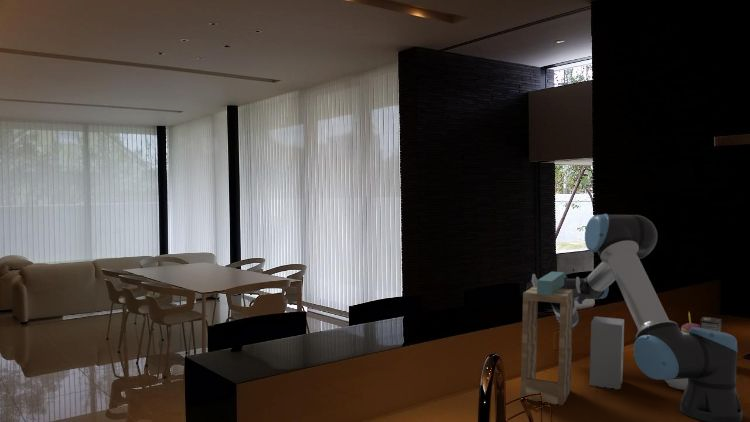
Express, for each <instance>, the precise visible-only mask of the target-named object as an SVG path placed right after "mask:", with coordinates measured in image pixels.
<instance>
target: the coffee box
mask: <svg viewBox="0 0 750 422" xmlns="http://www.w3.org/2000/svg"><path fill="white" fill-rule="evenodd" d="M722 320H723V319H722V318H717V317H711V316H702V317H701V319H700V320H699V321H700V322H699V325H700V328H704V329H710V330H715V331H720V332H723V331H722V330H723V328H722V325H723V324H722V323H723V321H722Z"/></svg>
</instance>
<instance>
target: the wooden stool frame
mask: <svg viewBox="0 0 750 422" xmlns="http://www.w3.org/2000/svg"><path fill="white" fill-rule="evenodd" d="M539 302H541V303H542V302H543V303H551V302H553V303H560V324H559V336H558V337H559V339H558V341H559V343H558V344H559V345H558V371H557V372H558V373H557V374H558V375H557V376H558V377H557V381H553V380H552V381H551V380H545V379H538V378H536V377H537V353H538V352H537V347H538V343H537V342H538V307H539V306H538V305H539V304H538V303H539ZM572 318H573V290H572V289H558V290H557V291H556V292H555V293H554V294H552V295H541V294H537V287H534V286H533V287H532V288H530V289H529V290H527V289H526V291H523V293H522V320H521V323H522V324H521V325H522V326H521V327H522V329H521V366H520V398H521V397H524V396H527V395H531V394H538V393H541V396H542V401H543V402H542V403H544V402H548V403H547V404H550V403H551V404H550V405H556V404H559V405H558V406H564V405H565V403H564V402H566V401H567V399H568V398H569V397H568V396H569V395H570V393H571V390H572V389H571V387H572V386H571V385H572V384H571V383H572V348H573V347H572V345H573V327H572ZM531 398H532V399H531V400H532V402H537V403H539V402H538V401H539V400H540V397H539V396H534V397H531ZM531 400H530V401H531ZM563 404H564V405H563Z"/></svg>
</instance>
